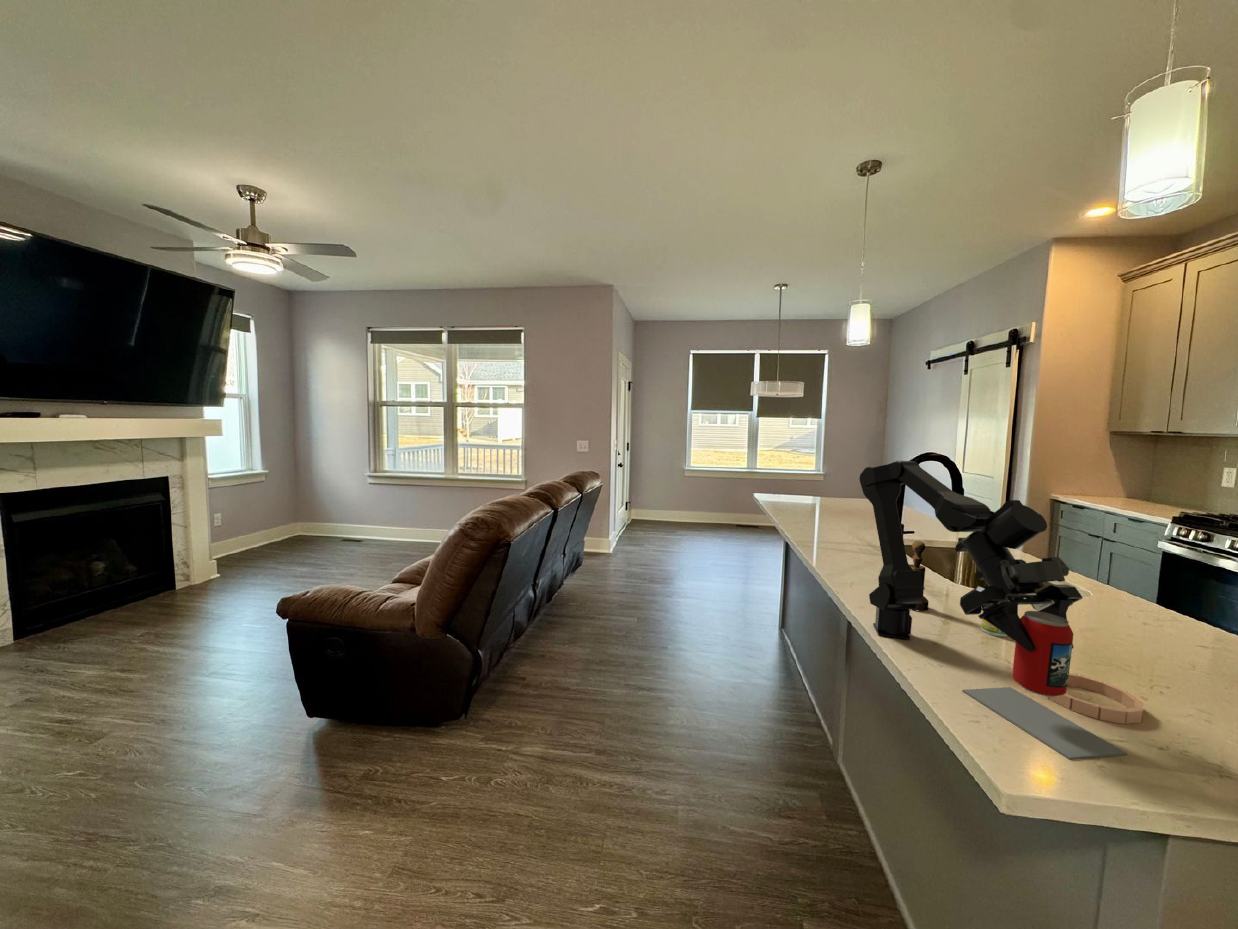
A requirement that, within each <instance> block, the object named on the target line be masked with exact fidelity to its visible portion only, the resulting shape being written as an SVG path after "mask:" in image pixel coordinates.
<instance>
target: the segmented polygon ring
mask: <svg viewBox="0 0 1238 929" xmlns="http://www.w3.org/2000/svg"><path fill="white" fill-rule="evenodd" d="M1067 686H1072V687H1078V688H1082V689H1085V690H1089V691H1091V692H1095V693H1099V694H1101V695H1103V696H1106V697H1108V698H1110V699H1113V700H1114V701H1116V702H1119V703H1121V705H1123V706H1124V707H1125V708H1119V707H1113V706H1106V705H1101V704H1096V703H1094V702H1090V701H1087V700H1083V699H1081V698H1077V697H1074V696H1072V695H1071V694H1068V693H1067V692H1066V693H1065V694H1064V695H1059V696H1054V697H1050V696H1045V697H1046V699H1049V700H1050V701H1052V702H1054V703H1056V704H1057V705H1059V706H1062V707H1064V708H1065V709H1067V710H1071V711H1073V712H1076V713H1079V714H1080V715H1085V716H1086V717H1091V718H1093V719H1096V720H1098V719H1099V720H1101V721H1105V722H1111V723H1118V724H1123V725H1129V724H1137V723H1141V722H1142V721H1143V713H1144V702H1143V701H1142V700H1140V699H1139V698H1138V697H1136V696H1135V695H1133V694H1132V693H1131V692H1128V691H1127V690H1125V689H1123V688H1120V687H1117V686H1115V685H1113V684H1111V683H1109V682H1106V681H1103V680H1100V679H1096V678H1093V677H1089V676H1085V675H1084V674H1078V673H1073V672H1069V677H1068V684H1067ZM1126 706H1127V707H1128V708H1127V707H1126Z"/></svg>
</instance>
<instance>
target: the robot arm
mask: <svg viewBox="0 0 1238 929" xmlns="http://www.w3.org/2000/svg"><path fill="white" fill-rule="evenodd" d="M859 483H860V486H861V491H862V493H863V495H864V496H865V498H866V499H867V500H868V501H869V502H870V503H871V505H872V509H873V513H874V519H875V525H876V529H877V530H876V532H877V535H878V542H879V547H880V552H881V559H882V562H883V563H882V564H883V566H882V568H881V570H880V573H879V574H878V586H877V587H876V588H875V589H874V590H872V591H871V592H870V593H868V598H869V604H870V605H873V606H874V607H876V608H875V609H876V611H875V621H874V622H873V624H872V625H873V628H874V630H875V631H876V633H877V635H878V636H881V637H888V638H894V639H895V638H896V639H902V640H908V641H909V640H911V636H910V635H911V634H912V624H913V623H912V622H913V617H912V616H911V615H910V614H911V609H913V610H912V611H916V610H917V607H918V605H919V603H920V601H921V598H923V596H924V593H923V589H924V590H925V585H924V586H923V583H922V577H921V573H920V571H914V570H913V569H912V568H911V566H910V563H909V562H908V557H907V556H908V555H907V551H906V546H905V540H904V536H903V529H902V525H901V521H900V516H899V510H898V505H897V500H898V498H899V496H900V495H901V492H902V485H905V486H906V487H907V488H909V489H910V490H911V491H913V493H915V494H916V495H918V496H919V497H920V498H921V499H922V500H923V501H925V502H926V503H927V504H929V506H931V507H932V509H933V510H934V515H935V517H936V518H937V520H938V521H939V522H940V523H941V524H942V525H943V526H942V527H944V528H945V529H946V530H948V531H949V532H950V533H951V532H952V533H970V534H968V535H967V536H966V537H958V538H957V543H956V545H955V548H954V551H955V553H965V552H966V553H968V556H970V558H971V560H972V561H973V563H974V564H975V566H976V567H977V570H978V571H979V572H978V573H976V574H975V576H976V578H977V579H978V581H985V582H986V584H987V585H978V586H976V587H975V588H973V589H972V590H970V591H968V592H967V593H966V594H964V595H962V596H960V599H959V600H960V601H959V606H960V608H961V609H962V611H963V613H964V615H966V616H967V615H969V616H970V615H971V616H972V615H978V618H979V619H980V620H982V619H984V620H986V621H988V622H989V623H990V624H992V625H993V626H995V627H996V628H998V629H999V630H1001V631H1002V632H1004V633H1005V634H1006V635H1008V636H1007V637H1009V638H1010V639H1011V640H1013V641H1014V642H1015V643H1016V642H1017V643H1018V644H1019V645H1021V646H1022V647H1023V648H1025V649H1026V650H1027V651H1029V652H1033V651H1035V650H1036V648H1035V646H1034V644H1033V641H1032V639H1031V637H1030V636H1029V634H1028V632H1027V630H1026V629H1025V627H1024V625H1023V623H1022V621H1021V620H1020V618H1021V617H1020V616H1019V613H1018V612H1019V605H1020V606H1021V605H1022V606H1023V605H1031V607H1032V608H1033V610H1034V611H1039V612H1045V613H1049V614H1053V615H1056V616H1059V617H1062V618H1064V619H1066V620H1067V621H1068V618H1067V612H1068V609H1069V607H1072V606H1073V604H1075V603H1076V602H1079V601H1080V600H1082V599H1083V598H1084V597H1083V596H1082V594H1081V593H1080V592H1079V590H1078V589H1077V588H1076V587H1075V586H1072V585H1070V584H1049V585H1048V586H1046V587H1045V584H1044V583H1048V582H1049V583H1050V582H1059V583H1061V582H1065V581H1066V578H1065V577H1067V576H1068V575H1069V573H1070V568H1069V567H1068V565H1067V564H1066V562H1064V561H1063V560H1062V558H1060V556H1050V557H1043V558H1041V561H1032V562H1031V561H1030V562H1027V561H1025V560H1023V559H1021V558H1019V559H1015V556H1013V554H1012V553H1011V551H1010V550H1009V549H1012V550H1017V549H1019V548H1021V547H1023V546H1024V545H1026V544H1027V543H1029V542H1031V540H1033V539H1035V538H1037V537H1038V536H1039V535H1041V534H1042V533H1044V532H1045V531H1046V530H1047V528H1048V523H1047V520H1046V519H1045V518H1044V516H1043V515H1042V514H1040V513H1039V512H1037V511H1036V510H1034V509H1033V508H1031V507H1029V506H1028V505H1027V506H1026V505H1025V504H1023V503H1022V502H1021V501H1020V499H1008V500H1007V501H1005V502H1004V503H1003V505H1001V507H999V508H998V509H997V510H996V511H993V510H991V509H990V507H989V506H988V505H987V504H985V503H983V502H981V501H979V500H977V499H975V498H973V497H969V496H966V495H963V494H961V493H957V492H956V491H953V490H952V489H950V488H949V487H948V486H946V485H945V484H943V483H942V482H941V481H940V480H939V479H937V478H936V477H934V476H933V475H932V474H930V473H929V472H927V471H926V470H924V469H923V468H922V467H921V466H920V465H919V463H918V462H916V461H913V460H896V461H893V462H891V463H888V464H887V463H886V464H883V465H878V466H875V467H874V466H867V467H865V468H864V469H863V470H862V472H861V473H860V475H859ZM1043 587H1044V588H1043ZM1041 588H1042V589H1041ZM1038 589H1039V590H1038ZM1036 590H1038V591H1037V592H1036ZM982 612H984V613H982ZM1073 649H1074V644H1073V643H1072V650H1073Z"/></svg>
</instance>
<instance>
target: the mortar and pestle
mask: <svg viewBox="0 0 1238 929" xmlns="http://www.w3.org/2000/svg"><path fill="white" fill-rule="evenodd" d="M911 548H912V549H913V552H914V555H913V556H912V562H913V564H910V563H909V565H910V566H911V568H912V569H913V570H914V571H920V573H921V577H922V583H923V586H924V587H925V578H926V577H925V575H926V566H923V565H921V564H922V562H923V556H922V553H923V552H924V551H925V549H926V544H925V542H924V541H922V540H915V541H913V542H912V545H911ZM924 591H925V589H923V594H924ZM917 610H920V611H919V612H924V610H926V611H928V610H929V600H928V598H927V597H925V596H924V595H923V598H921V601H920V603H919V605H918V607H917Z"/></svg>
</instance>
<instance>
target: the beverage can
mask: <svg viewBox="0 0 1238 929" xmlns="http://www.w3.org/2000/svg"><path fill="white" fill-rule="evenodd" d="M1019 618H1020V620H1021V621H1022V623H1023V625H1024V627H1025V629H1026V630H1027V632H1028V634H1029V636H1030V637H1031V639H1032V641H1033V644H1034V646H1035V648H1036V650H1035V651H1033V652H1029V651H1027V650H1026V649H1025V648H1023V647H1022V646H1021V645H1019V644H1018V643H1017V642H1016V641H1015V645H1014V655H1013V663H1012V666H1013V667H1012V679H1013V680H1014V681H1015V682H1016V684H1018V685H1019V686H1020V687H1021V688H1023V689H1025V690H1027V691H1028V692H1031V693H1034V694H1037V695H1040V696H1044V697H1046V696H1050V697H1054V696H1059V695H1064V694H1065V693H1066V694H1067V690H1068V685H1067V684H1068V677H1069V673H1070V668H1071V660H1072V654H1073V652H1072V650H1073V649H1072V643H1073V642H1074V632H1073V630H1072V628H1071V626H1070V624H1069V620H1068V619H1067V620H1066V619H1064V618H1062V617H1059V616H1056V615H1053V614H1049V613H1045V612H1039V611H1036V610H1026V611H1024V614H1023V615H1022V616H1021V617H1019Z"/></svg>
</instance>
